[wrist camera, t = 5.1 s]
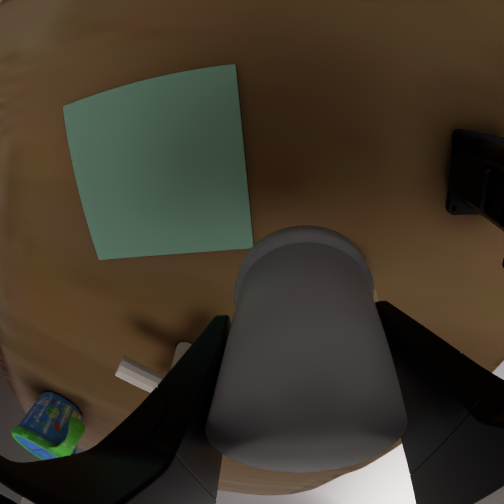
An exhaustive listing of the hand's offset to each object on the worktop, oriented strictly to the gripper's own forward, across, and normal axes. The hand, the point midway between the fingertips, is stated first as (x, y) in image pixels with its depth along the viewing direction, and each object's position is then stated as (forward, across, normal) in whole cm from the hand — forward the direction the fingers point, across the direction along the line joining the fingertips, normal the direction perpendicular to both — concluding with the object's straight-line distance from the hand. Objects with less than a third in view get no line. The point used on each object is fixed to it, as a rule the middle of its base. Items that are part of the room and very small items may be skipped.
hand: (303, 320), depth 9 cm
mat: (+11, +8, -3) cm, 14 cm away
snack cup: (+12, +34, +28) cm, 45 cm away
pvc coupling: (+2, 0, 0) cm, 2 cm away
